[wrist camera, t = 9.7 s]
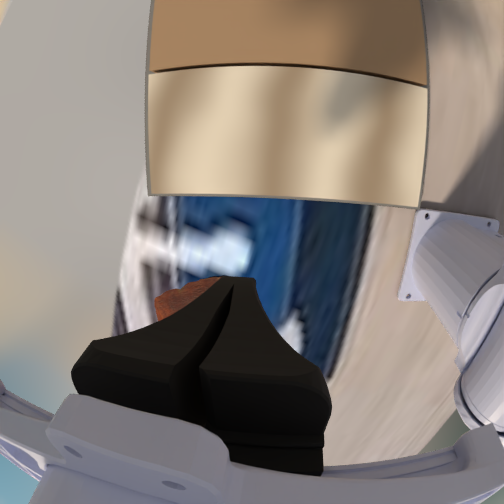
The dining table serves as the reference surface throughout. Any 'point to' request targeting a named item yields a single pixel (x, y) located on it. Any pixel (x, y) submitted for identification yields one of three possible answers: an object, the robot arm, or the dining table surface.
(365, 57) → the floor base
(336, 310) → the dining table surface
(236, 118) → the ash plank
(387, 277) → the dining table surface
